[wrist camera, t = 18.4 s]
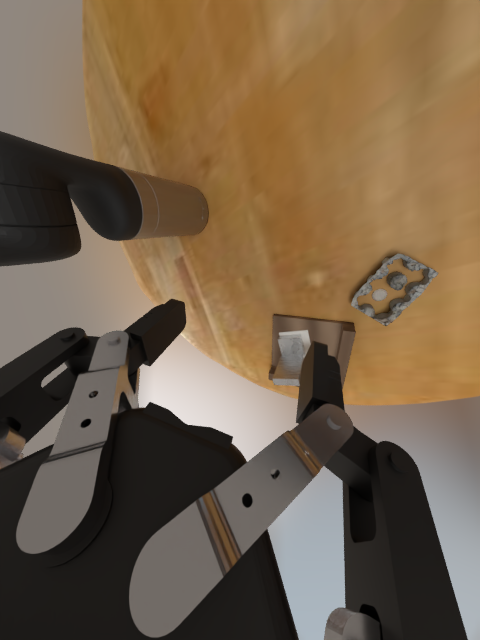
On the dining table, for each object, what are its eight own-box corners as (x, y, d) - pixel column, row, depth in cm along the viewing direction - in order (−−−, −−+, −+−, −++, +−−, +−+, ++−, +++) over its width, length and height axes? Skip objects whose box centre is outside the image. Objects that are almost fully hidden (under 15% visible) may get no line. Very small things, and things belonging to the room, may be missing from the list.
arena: (272, 369, 51) (268, 379, 48) (274, 313, 44) (269, 321, 41) (340, 384, 45) (340, 397, 42) (353, 322, 38) (355, 332, 35)
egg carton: (380, 319, 37) (384, 329, 33) (345, 297, 37) (346, 305, 34) (436, 271, 30) (448, 278, 27) (393, 246, 31) (400, 249, 28)
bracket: (279, 336, 45) (267, 361, 36) (301, 334, 42) (293, 361, 34) (284, 356, 46) (274, 384, 38) (305, 355, 44) (299, 385, 36)
